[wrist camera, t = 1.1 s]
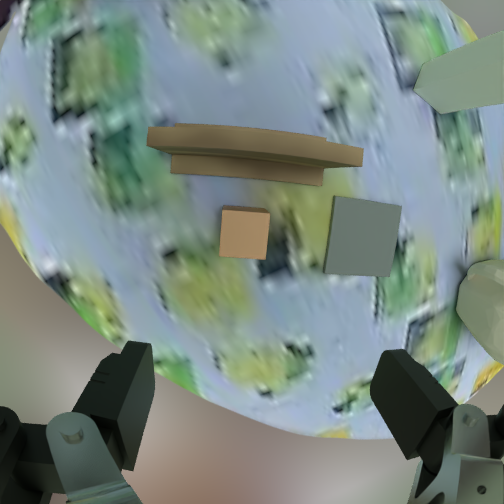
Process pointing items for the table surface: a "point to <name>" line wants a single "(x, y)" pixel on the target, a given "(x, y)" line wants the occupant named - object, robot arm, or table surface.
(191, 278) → the table surface
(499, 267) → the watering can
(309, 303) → the table surface
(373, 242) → the slate pad
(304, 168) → the walnut screen
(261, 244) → the letter cube
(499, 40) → the milk
